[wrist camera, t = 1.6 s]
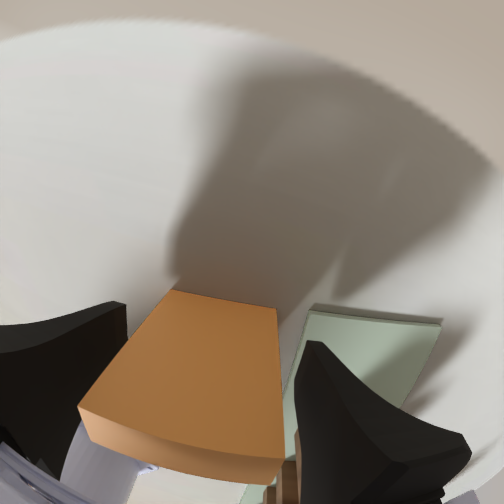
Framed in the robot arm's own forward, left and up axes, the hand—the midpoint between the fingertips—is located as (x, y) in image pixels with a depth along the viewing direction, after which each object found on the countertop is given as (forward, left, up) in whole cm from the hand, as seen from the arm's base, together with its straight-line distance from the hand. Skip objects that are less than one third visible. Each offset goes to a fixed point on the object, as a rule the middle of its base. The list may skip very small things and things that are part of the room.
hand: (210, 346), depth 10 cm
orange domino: (0, 0, -3) cm, 3 cm away
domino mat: (-8, -16, -3) cm, 18 cm away
